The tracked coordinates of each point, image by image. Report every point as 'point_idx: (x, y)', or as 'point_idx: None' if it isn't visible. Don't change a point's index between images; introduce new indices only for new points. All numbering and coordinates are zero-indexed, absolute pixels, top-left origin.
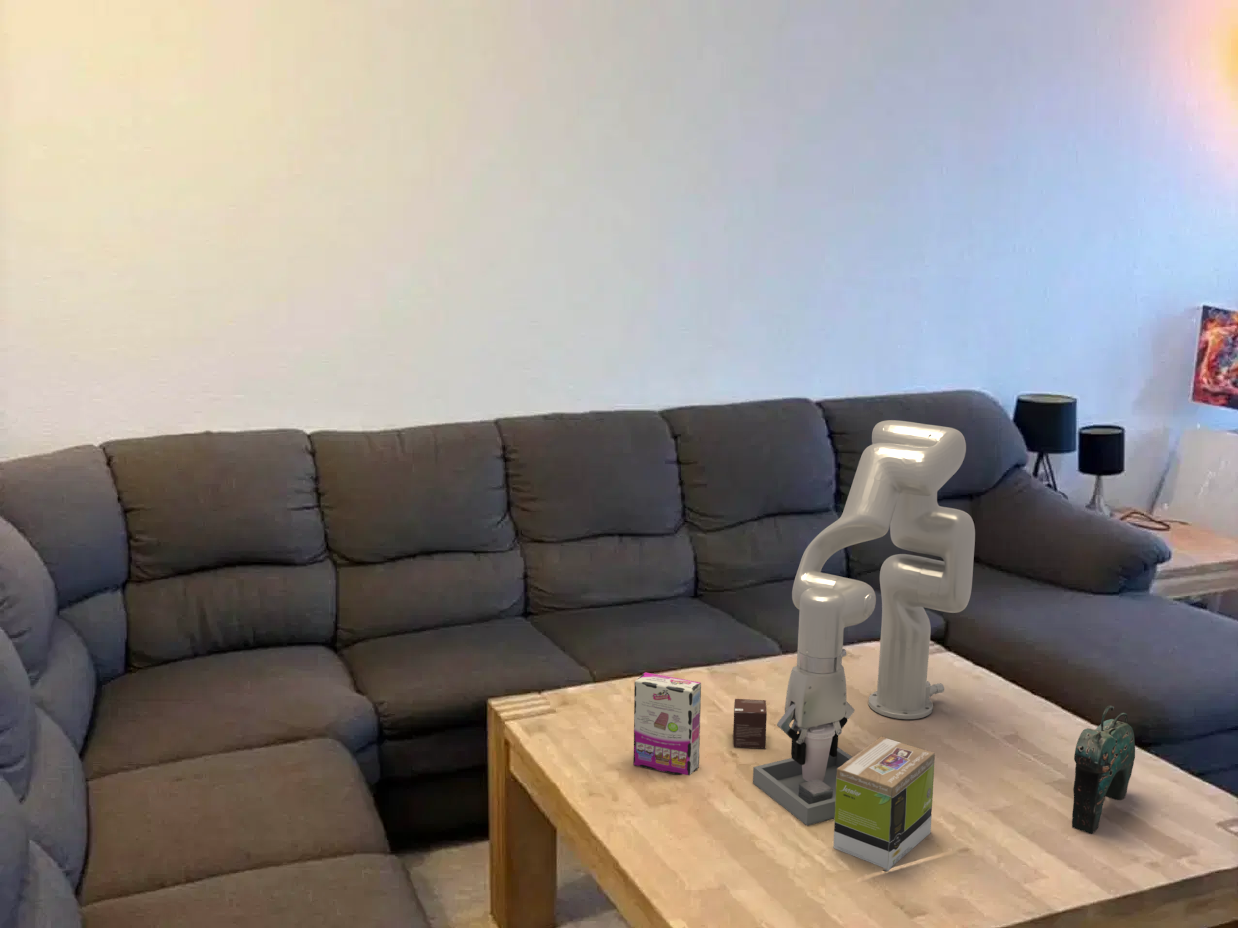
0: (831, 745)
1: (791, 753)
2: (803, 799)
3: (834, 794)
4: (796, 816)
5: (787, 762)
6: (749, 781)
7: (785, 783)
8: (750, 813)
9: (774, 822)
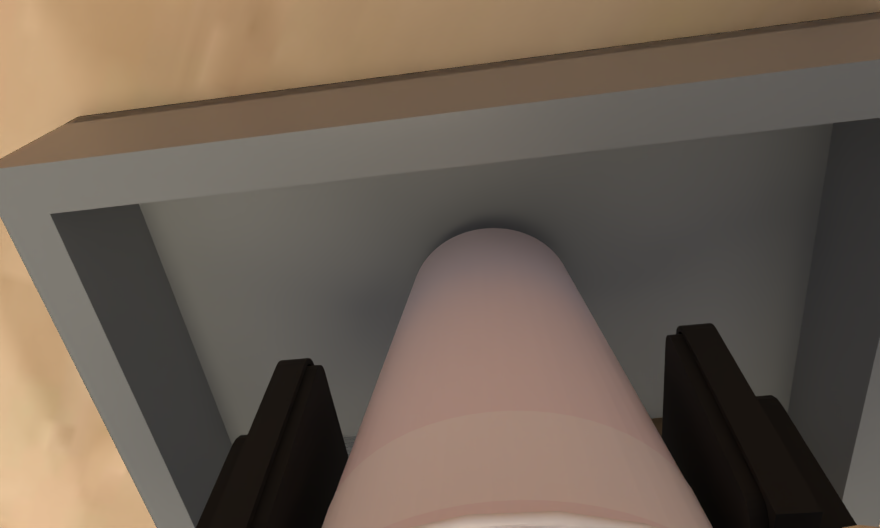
0: None
1: (233, 451)
2: None
3: None
4: None
5: (325, 180)
6: (67, 42)
7: (306, 207)
8: (10, 394)
9: (122, 488)
